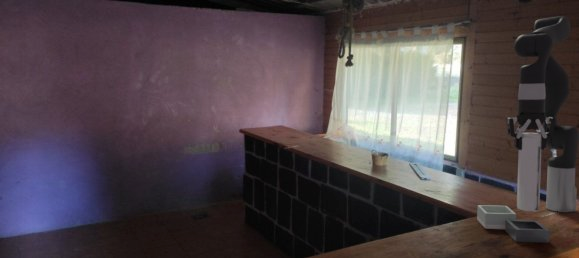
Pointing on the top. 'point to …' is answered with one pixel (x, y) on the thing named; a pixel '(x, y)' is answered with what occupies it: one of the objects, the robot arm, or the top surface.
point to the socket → (527, 231)
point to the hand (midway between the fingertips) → (529, 149)
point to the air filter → (529, 172)
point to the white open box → (494, 216)
